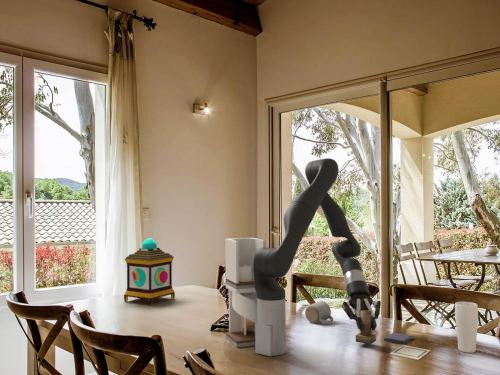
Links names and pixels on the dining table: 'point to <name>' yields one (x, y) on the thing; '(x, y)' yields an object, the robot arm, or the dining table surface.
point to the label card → (410, 352)
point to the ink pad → (398, 338)
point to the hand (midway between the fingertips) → (368, 329)
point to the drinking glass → (466, 325)
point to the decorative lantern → (149, 273)
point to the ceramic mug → (319, 313)
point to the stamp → (366, 329)
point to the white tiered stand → (241, 289)
